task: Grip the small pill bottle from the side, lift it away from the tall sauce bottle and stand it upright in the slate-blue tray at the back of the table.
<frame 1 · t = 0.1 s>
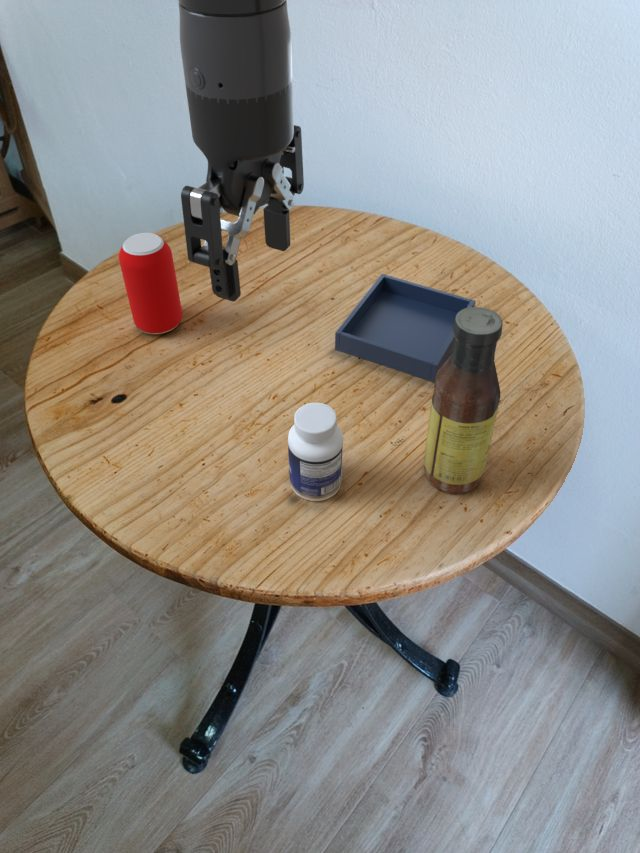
hand: (254, 271, 60), 22 cm above the table, tool pointing down, fingers open, 8 cm apart
blue tray: (405, 333, 88), on the table
sauce bottle: (450, 473, 72), on the table
beverage can: (159, 325, 89), on the table
pill bottle: (315, 483, 71), on the table
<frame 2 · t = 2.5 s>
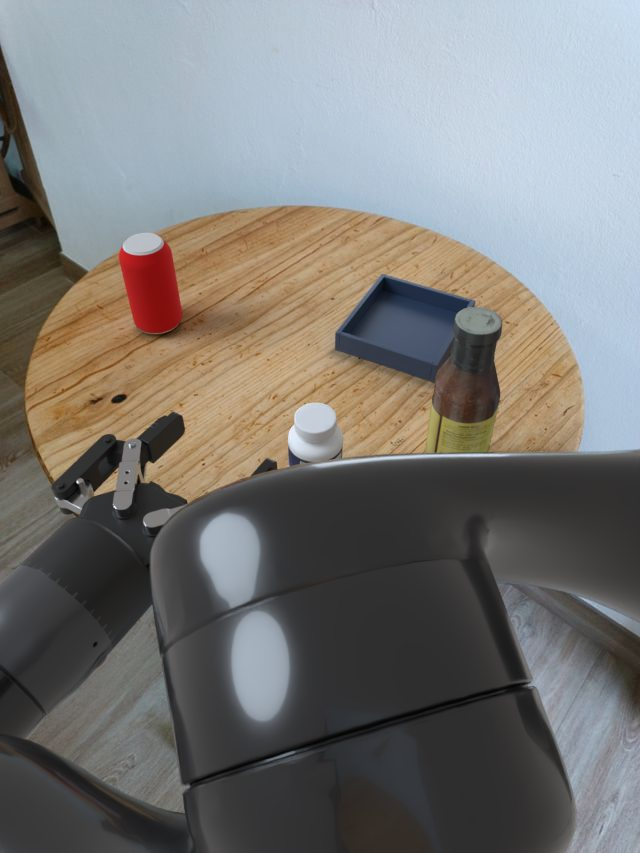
hand: (225, 443, 51), 18 cm above the table, tool horizontal, fingers open, 8 cm apart
nothing on the table moved.
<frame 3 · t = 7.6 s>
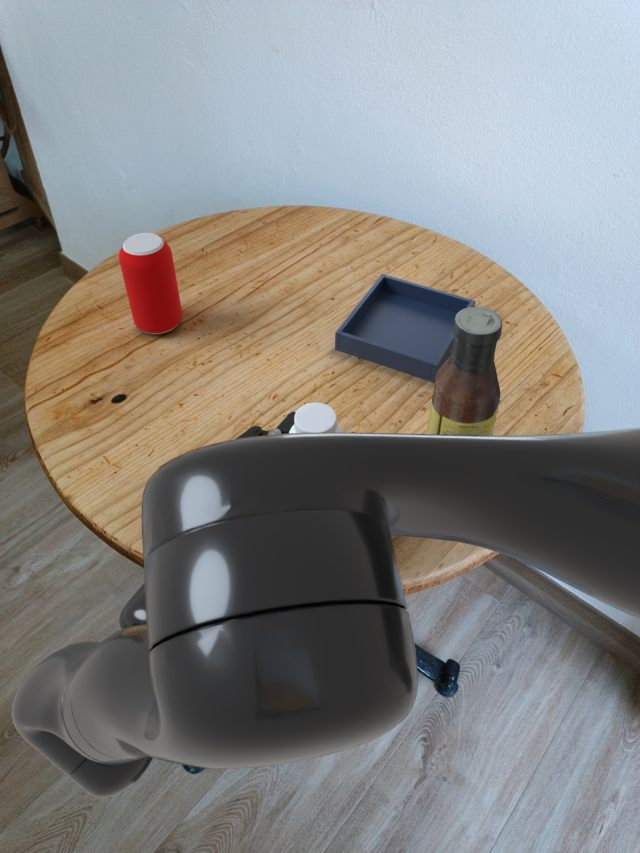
hand: (328, 427, 68), 6 cm above the table, tool horizontal, fingers closed on pill bottle, 5 cm apart
pill bottle: (315, 483, 71), on the table, touching gripper
everything else where it was.
when the fingers open (6 cm above the table, at t = 17.0 s): pill bottle stays where it is, resting on blue tray.
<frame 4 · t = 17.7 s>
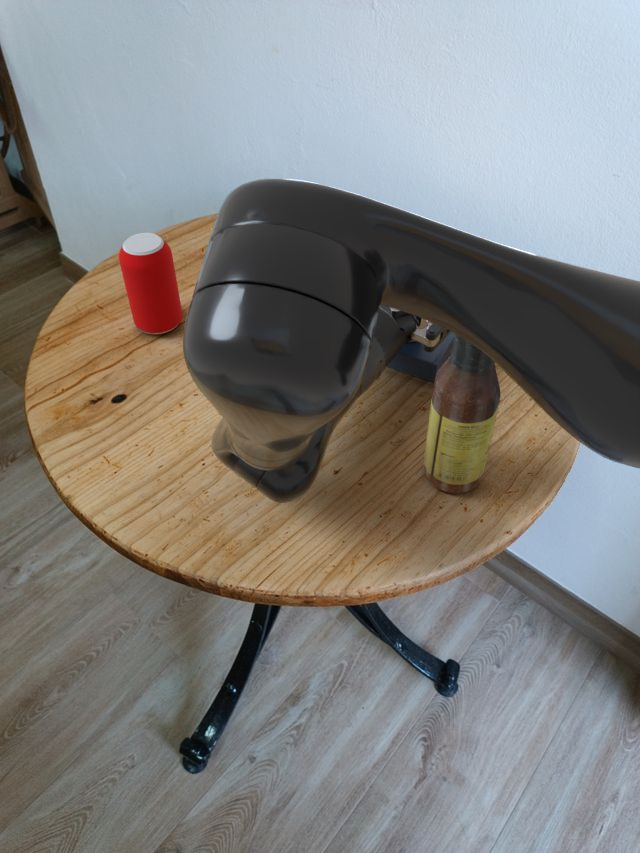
hand: (417, 279, 84), 7 cm above the table, tool horizontal, fingers open, 8 cm apart
pill bottle: (404, 331, 88), resting on blue tray
everything else where it was.
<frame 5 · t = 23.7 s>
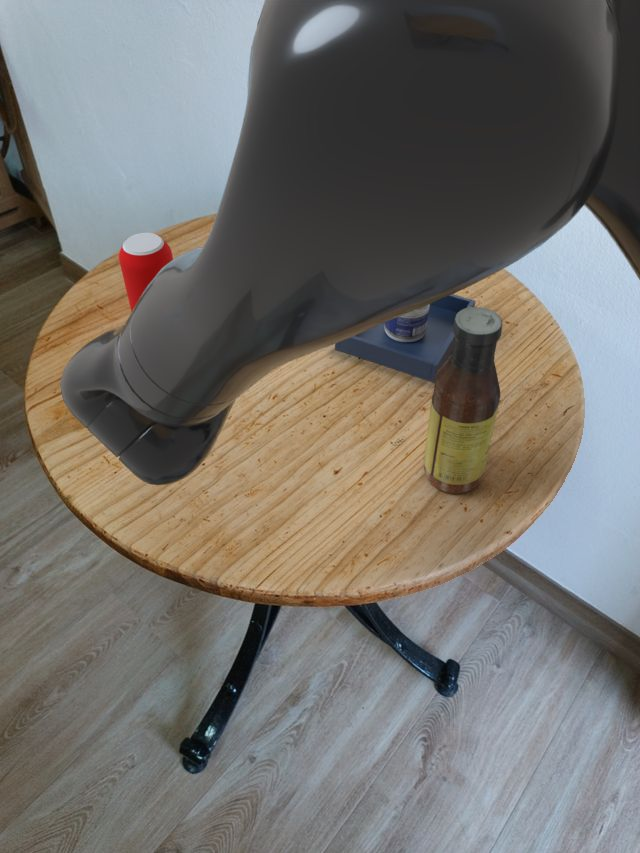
hand: (377, 195, 64), 24 cm above the table, tool horizontal, fingers open, 8 cm apart
nothing on the table moved.
at the end: pill bottle inside the target area in the blue tray (0.2 cm from its centre), point 0.3 cm above the blue tray's base; pill bottle tilted 0°; sauce bottle moved 0.2 cm from its start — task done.
